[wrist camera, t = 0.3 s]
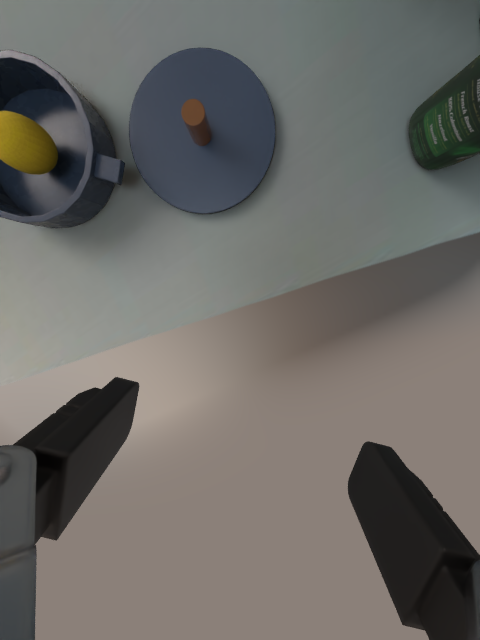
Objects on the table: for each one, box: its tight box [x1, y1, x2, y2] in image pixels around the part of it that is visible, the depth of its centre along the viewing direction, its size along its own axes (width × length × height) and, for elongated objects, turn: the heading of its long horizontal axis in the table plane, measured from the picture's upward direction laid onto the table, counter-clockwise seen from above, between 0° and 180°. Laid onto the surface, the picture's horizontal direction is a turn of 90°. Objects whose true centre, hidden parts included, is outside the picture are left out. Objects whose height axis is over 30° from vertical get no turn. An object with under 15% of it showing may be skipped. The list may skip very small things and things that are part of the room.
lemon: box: [0, 111, 58, 175], centre depth 30 cm, size 6×6×8 cm
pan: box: [0, 50, 125, 228], centre depth 31 cm, size 16×22×5 cm
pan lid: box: [129, 48, 275, 214], centre depth 30 cm, size 17×17×6 cm
